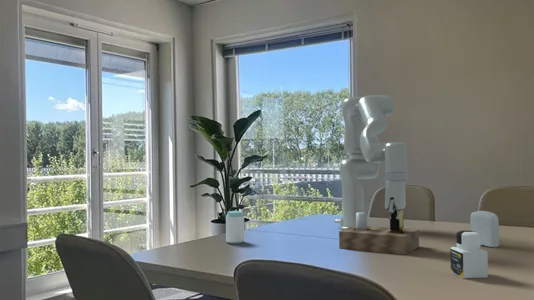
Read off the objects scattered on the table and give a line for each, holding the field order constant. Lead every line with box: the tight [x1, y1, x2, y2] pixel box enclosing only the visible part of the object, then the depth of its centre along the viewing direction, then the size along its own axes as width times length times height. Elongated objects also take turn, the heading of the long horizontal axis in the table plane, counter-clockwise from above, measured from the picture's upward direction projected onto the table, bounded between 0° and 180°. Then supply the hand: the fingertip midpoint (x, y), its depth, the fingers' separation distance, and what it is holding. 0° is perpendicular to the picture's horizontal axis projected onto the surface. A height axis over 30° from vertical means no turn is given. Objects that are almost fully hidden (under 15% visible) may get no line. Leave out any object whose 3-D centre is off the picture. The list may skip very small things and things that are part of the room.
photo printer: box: [469, 210, 500, 248], centre depth 171 cm, size 10×4×12 cm, turn 26°
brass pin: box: [391, 209, 404, 234], centre depth 167 cm, size 4×4×10 cm
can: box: [225, 210, 245, 245], centre depth 184 cm, size 7×7×12 cm
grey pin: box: [356, 211, 368, 231], centre depth 174 cm, size 4×4×10 cm
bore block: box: [338, 225, 420, 256], centre depth 170 cm, size 24×16×6 cm, turn 58°
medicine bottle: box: [450, 230, 489, 280], centre depth 130 cm, size 7×7×12 cm
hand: (396, 228), depth 167 cm, fingers closed on brass pin, 4 cm apart
